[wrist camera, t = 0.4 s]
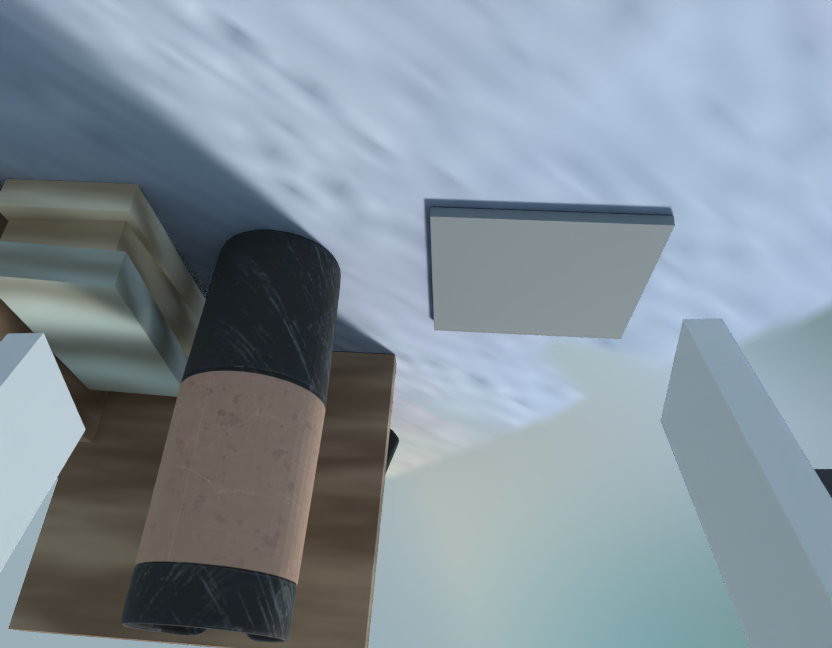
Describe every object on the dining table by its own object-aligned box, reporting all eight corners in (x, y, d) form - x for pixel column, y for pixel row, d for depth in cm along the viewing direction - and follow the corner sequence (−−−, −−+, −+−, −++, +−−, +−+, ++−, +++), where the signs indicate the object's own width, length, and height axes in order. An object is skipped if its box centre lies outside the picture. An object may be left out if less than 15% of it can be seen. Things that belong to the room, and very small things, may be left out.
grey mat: (431, 207, 35) (429, 216, 34) (673, 215, 34) (674, 225, 33) (434, 322, 45) (434, 330, 45) (619, 330, 44) (620, 339, 44)
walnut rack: (-62, 164, 35) (-286, 580, 25) (368, 178, 33) (304, 628, 24) (113, 349, 53) (22, 631, 43) (396, 364, 51) (366, 660, 42)
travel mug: (264, 208, 36) (168, 622, 26) (372, 271, 40) (324, 643, 31) (191, 259, 41) (88, 623, 31) (295, 310, 45) (233, 642, 36)
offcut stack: (1, 174, 35) (-45, 271, 33) (144, 180, 35) (110, 278, 32) (126, 324, 50) (101, 401, 47) (229, 329, 49) (211, 407, 46)
